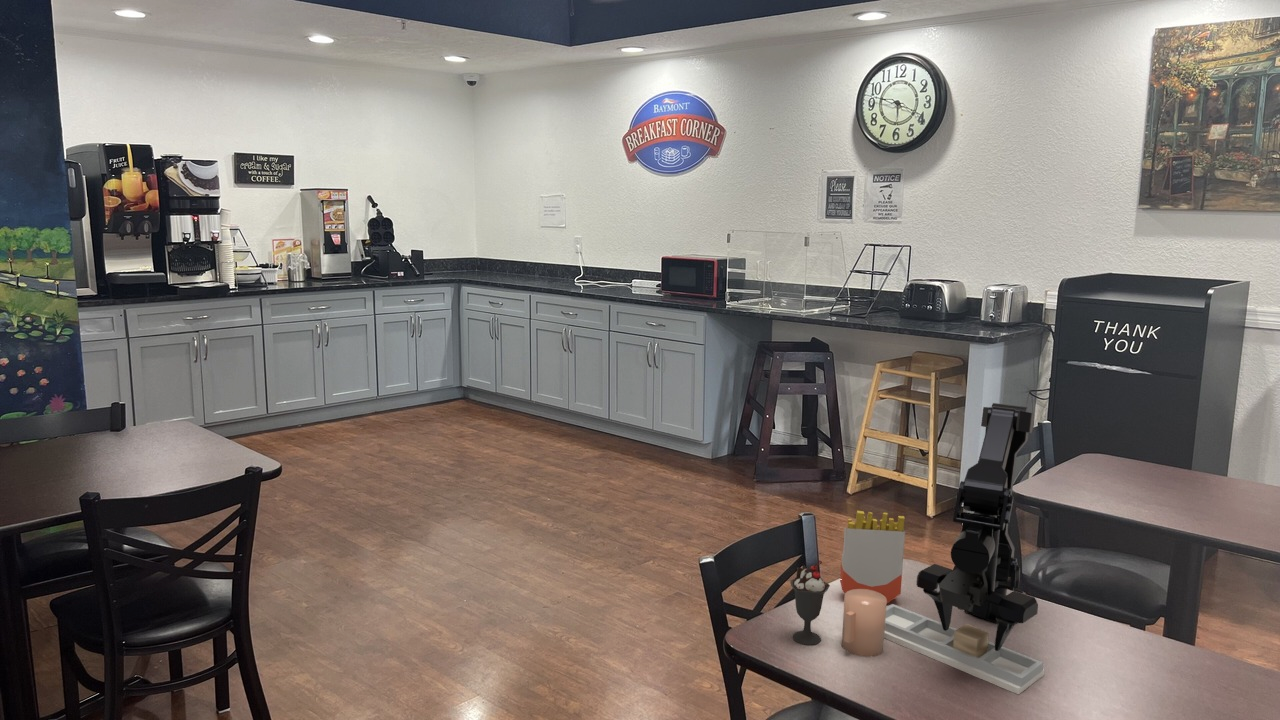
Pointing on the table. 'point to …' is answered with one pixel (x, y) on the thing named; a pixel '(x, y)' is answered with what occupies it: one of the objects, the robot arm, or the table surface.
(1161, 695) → the table surface
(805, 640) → the sundae
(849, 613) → the terracotta mug
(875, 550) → the french fries container
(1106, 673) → the table surface
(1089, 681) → the table surface
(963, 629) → the beech block
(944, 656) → the board
